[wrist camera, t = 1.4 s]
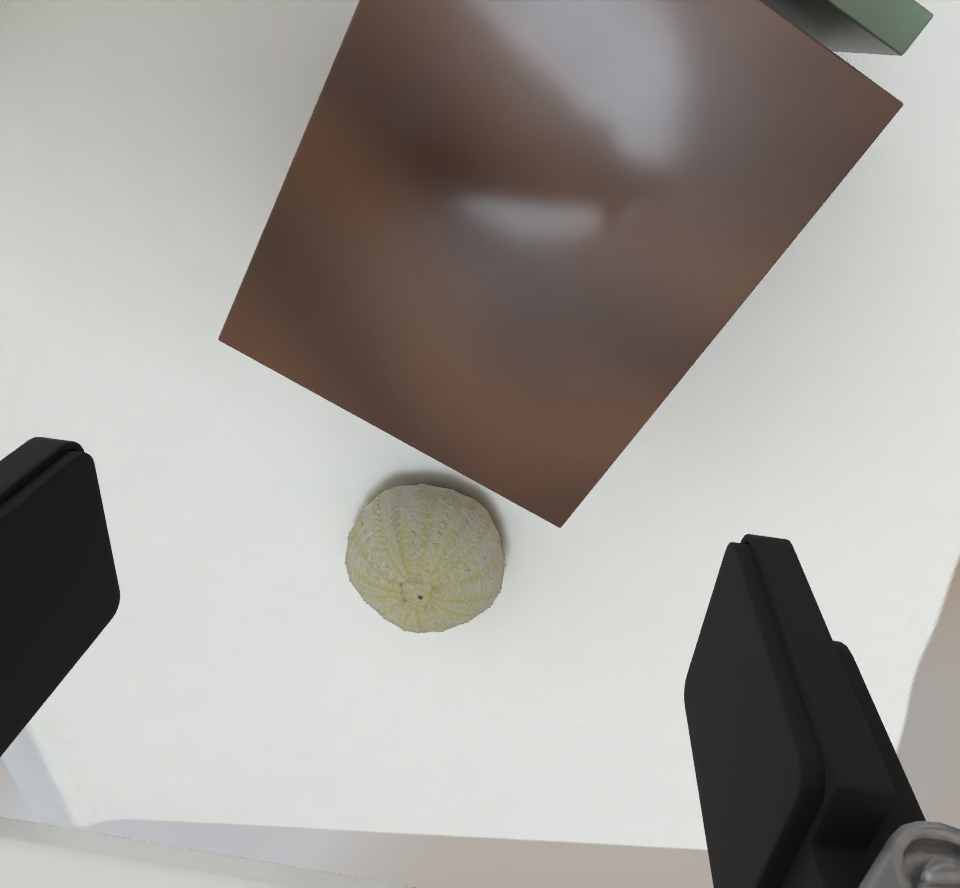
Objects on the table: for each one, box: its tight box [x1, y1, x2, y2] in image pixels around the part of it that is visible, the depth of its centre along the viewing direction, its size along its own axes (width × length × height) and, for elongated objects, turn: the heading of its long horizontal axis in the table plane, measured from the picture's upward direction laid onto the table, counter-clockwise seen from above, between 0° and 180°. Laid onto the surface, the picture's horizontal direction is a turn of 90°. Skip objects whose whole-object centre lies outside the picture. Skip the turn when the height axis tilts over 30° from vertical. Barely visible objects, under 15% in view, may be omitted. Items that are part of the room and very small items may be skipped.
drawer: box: [762, 0, 933, 56], centre depth 26 cm, size 22×14×9 cm, turn 150°
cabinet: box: [218, 0, 903, 528], centre depth 29 cm, size 18×15×11 cm
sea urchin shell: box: [345, 483, 505, 633], centre depth 42 cm, size 9×8×8 cm
